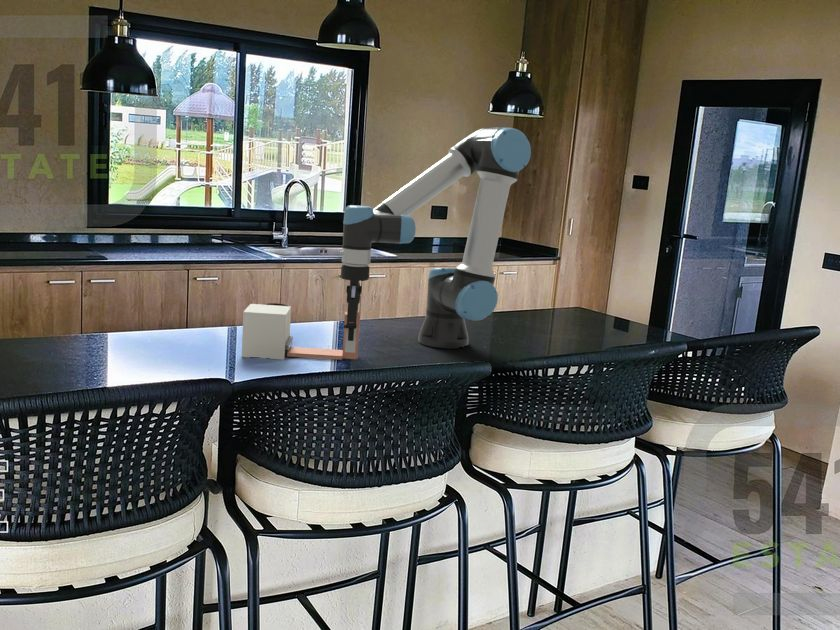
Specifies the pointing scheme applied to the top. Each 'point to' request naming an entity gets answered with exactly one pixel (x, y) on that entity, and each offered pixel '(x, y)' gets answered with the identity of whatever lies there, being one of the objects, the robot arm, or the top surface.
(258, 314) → the off-white block
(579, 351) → the top surface
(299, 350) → the orange l-shaped bracket
